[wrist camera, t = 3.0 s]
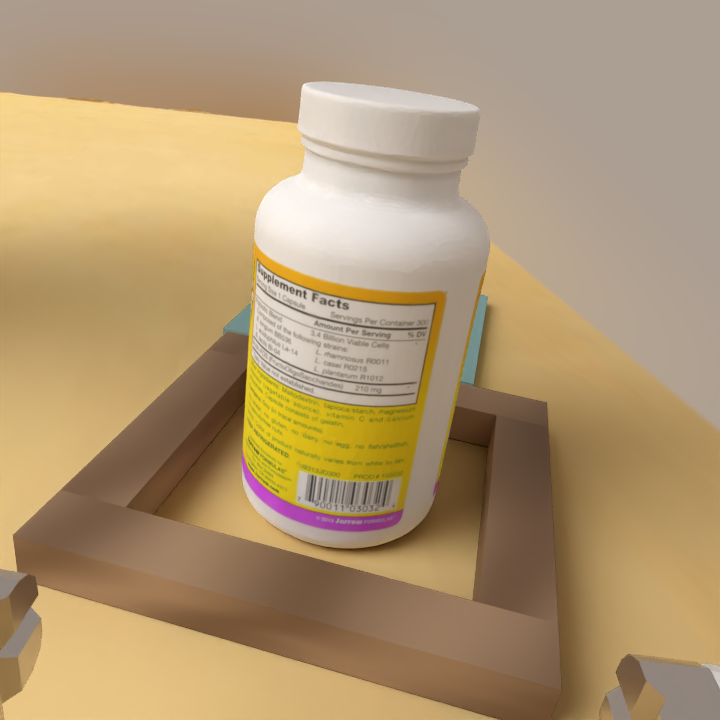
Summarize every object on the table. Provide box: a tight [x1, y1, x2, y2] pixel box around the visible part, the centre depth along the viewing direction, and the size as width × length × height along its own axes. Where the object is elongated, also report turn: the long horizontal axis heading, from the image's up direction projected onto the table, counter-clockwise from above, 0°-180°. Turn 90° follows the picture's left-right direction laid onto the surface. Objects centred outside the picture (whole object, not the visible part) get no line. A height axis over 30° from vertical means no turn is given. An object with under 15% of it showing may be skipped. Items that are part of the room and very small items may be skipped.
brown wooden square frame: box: [13, 331, 562, 720], centre depth 23 cm, size 14×14×2 cm
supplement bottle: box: [242, 82, 490, 548], centre depth 20 cm, size 7×7×13 cm
